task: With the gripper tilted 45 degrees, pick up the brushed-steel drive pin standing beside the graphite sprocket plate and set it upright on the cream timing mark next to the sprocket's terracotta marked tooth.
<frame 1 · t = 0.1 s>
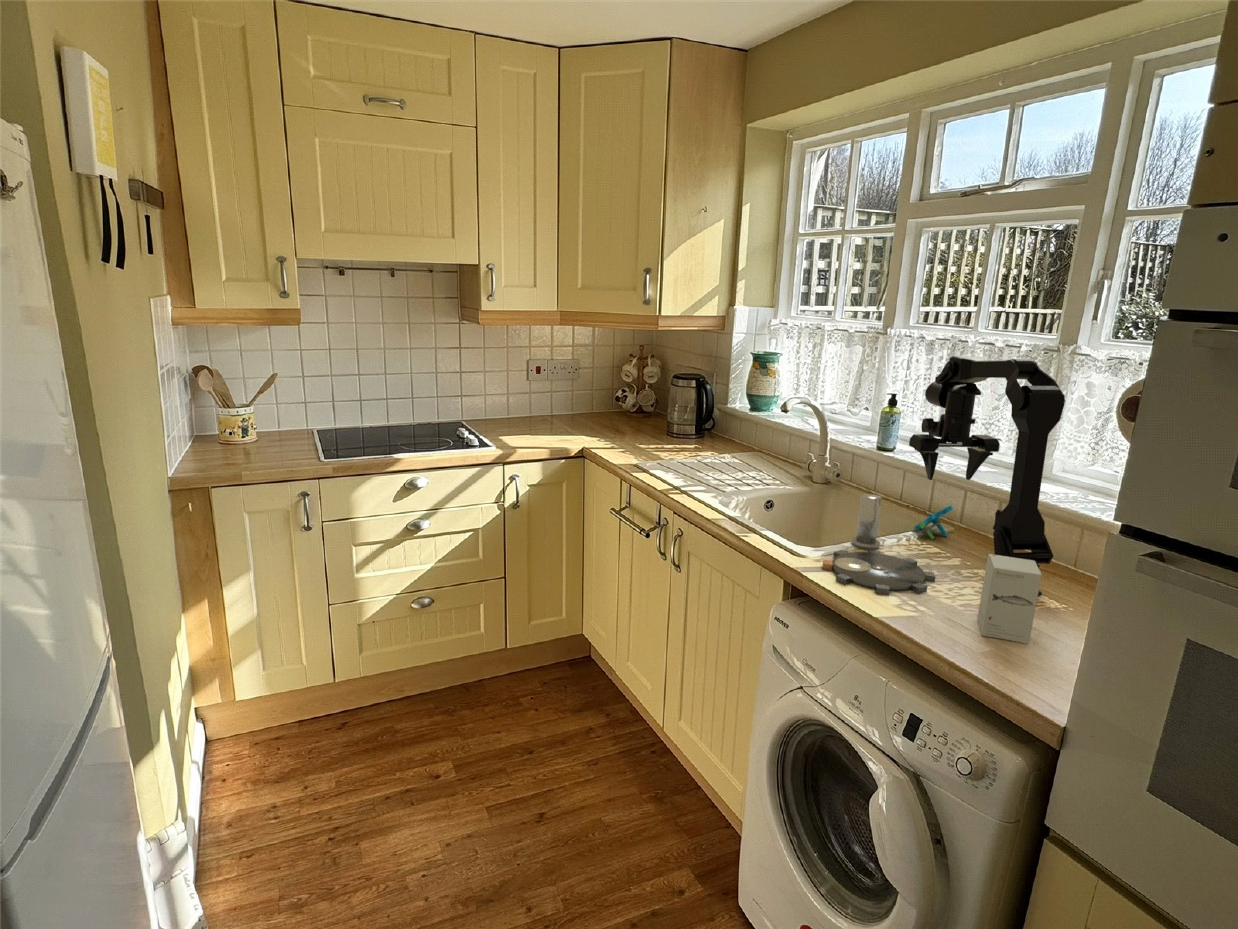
hand: (948, 479, 166), 15 cm above the worktop, tool pointing down, fingers open, 9 cm apart
cyan green stick cluster: (930, 534, 175), on the worktop
drive pin: (865, 545, 165), on the worktop
sprocket plate: (877, 573, 149), on the worktop
supplement box: (1002, 632, 125), on the worktop
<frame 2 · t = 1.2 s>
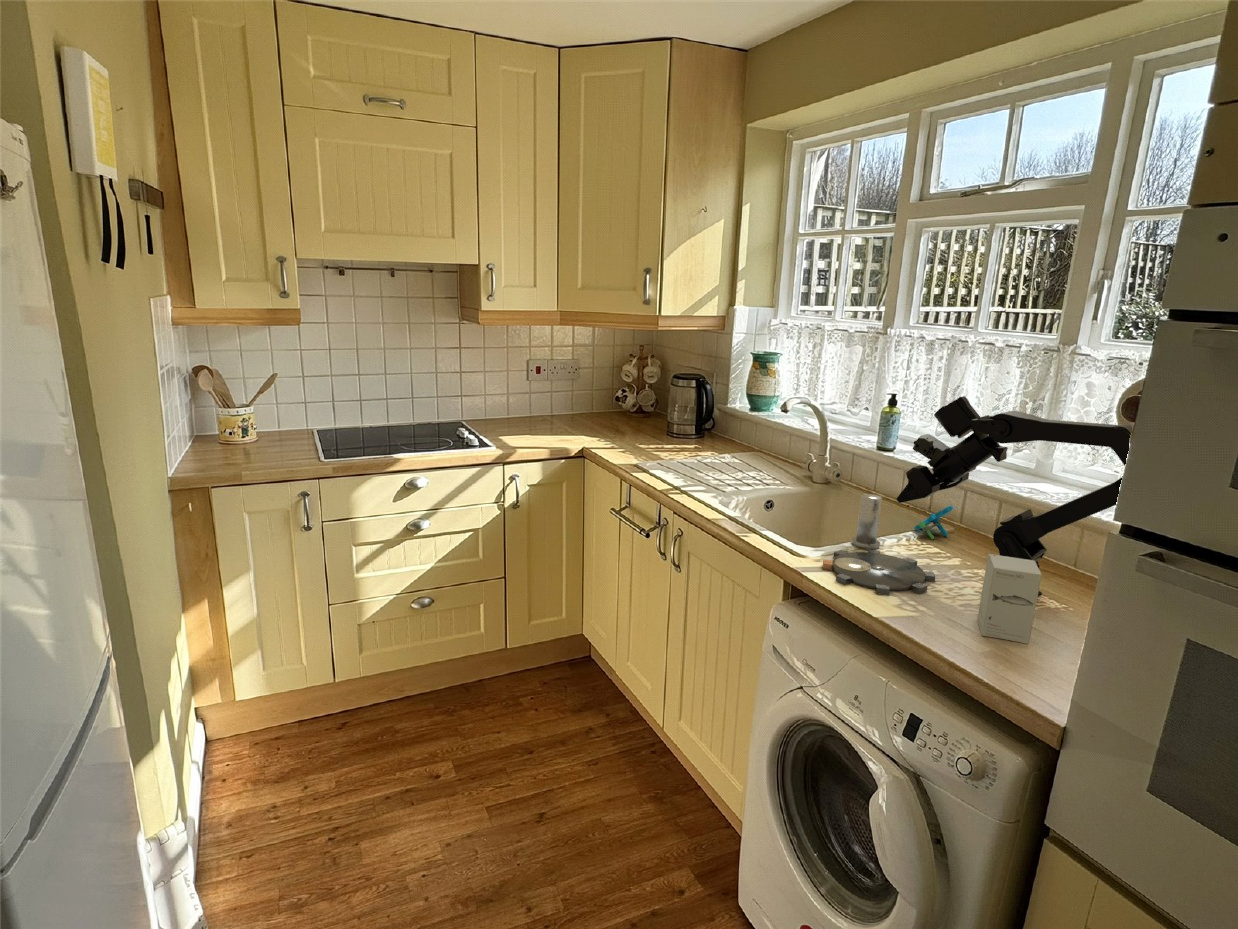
hand: (908, 497, 156), 13 cm above the worktop, tool tilted 45°, fingers open, 9 cm apart
nothing on the worktop moved.
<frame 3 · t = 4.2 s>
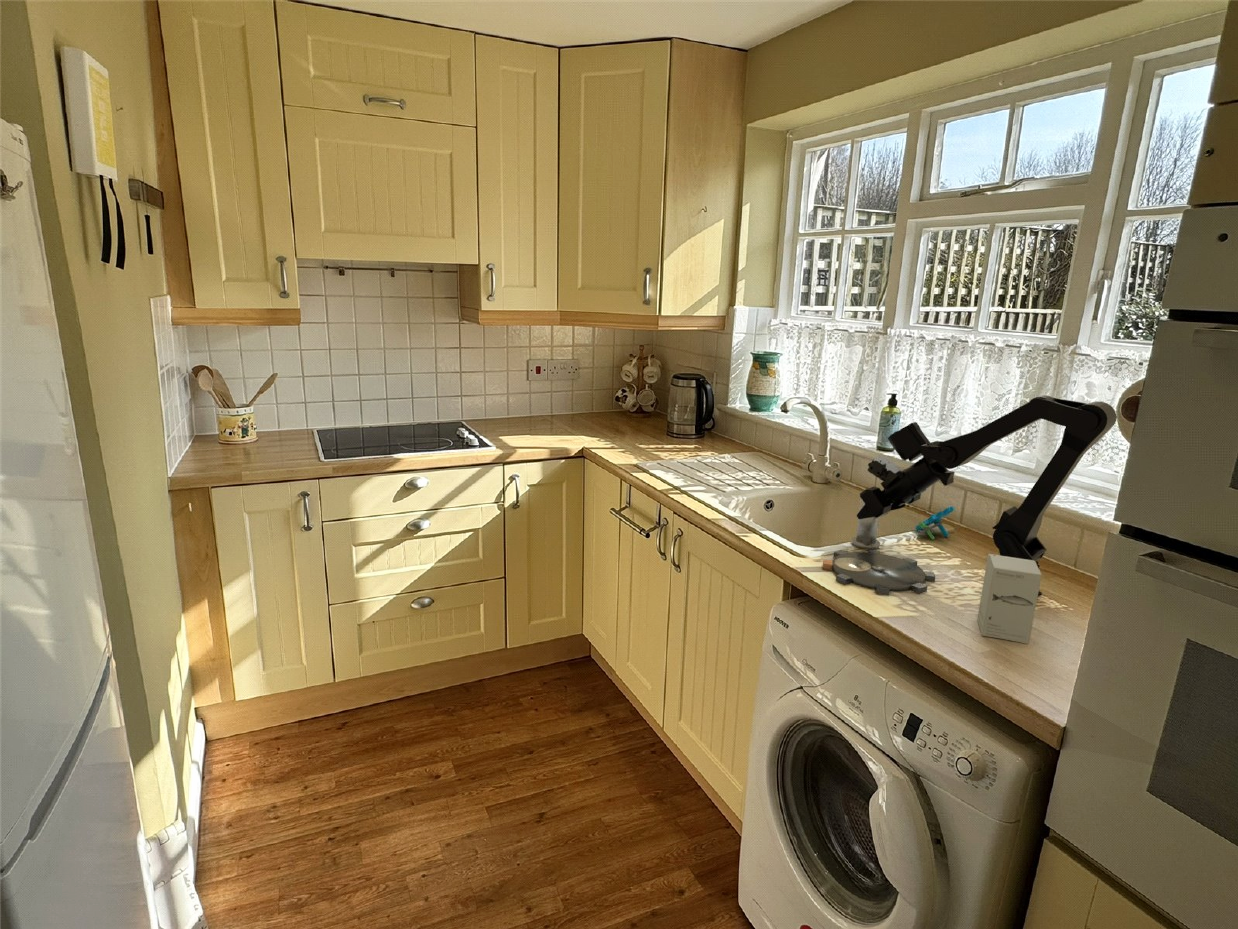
hand: (863, 515, 164), 7 cm above the worktop, tool tilted 45°, fingers closed on drive pin, 4 cm apart
drive pin: (865, 545, 165), on the worktop, touching gripper
everything else where it was.
when the fingers open (9 cm above the worktop, at t = 8.3 s): drive pin stays where it is, resting on sprocket plate.
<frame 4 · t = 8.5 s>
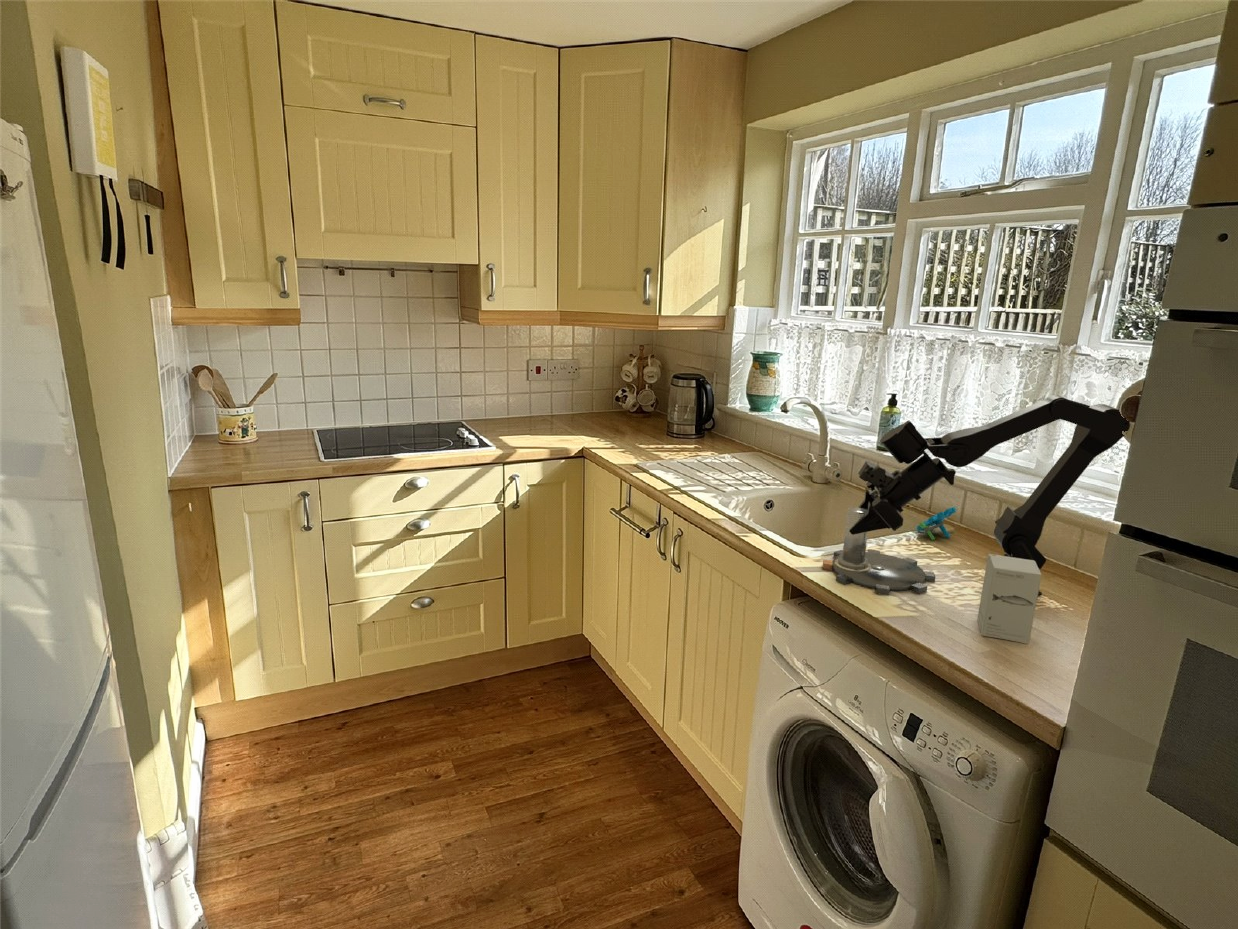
hand: (849, 527, 148), 9 cm above the worktop, tool tilted 45°, fingers open, 6 cm apart
drive pin: (852, 564, 149), point 1 cm above the worktop, touching sprocket plate
everything else where it was.
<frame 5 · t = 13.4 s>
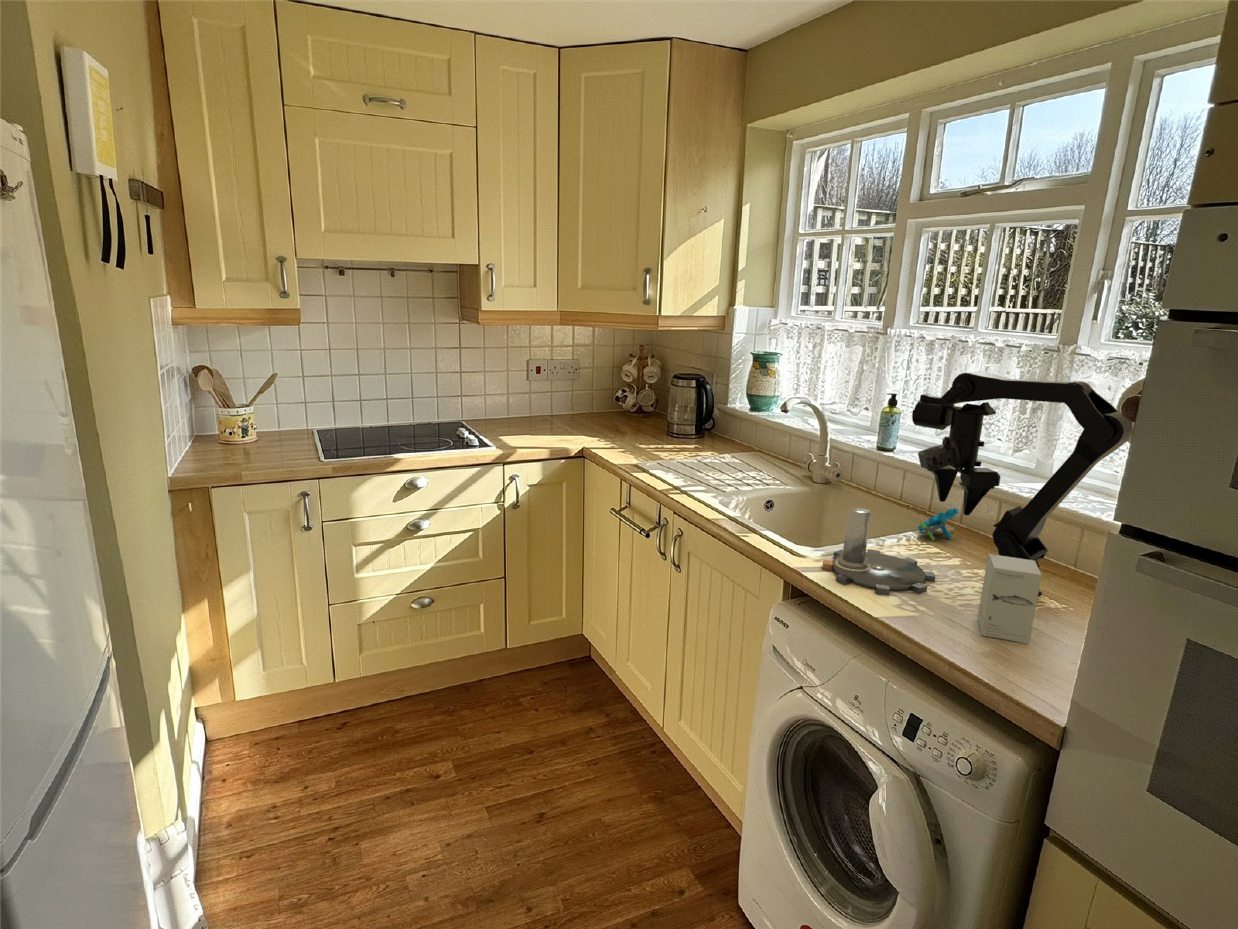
hand: (953, 508, 150), 13 cm above the worktop, tool pointing down, fingers open, 9 cm apart
at the end: drive pin 0.0 cm from the target spot on the sprocket plate, point 1.4 cm above the sprocket plate's base; drive pin tilted 0°; the gripper is holding nothing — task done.
